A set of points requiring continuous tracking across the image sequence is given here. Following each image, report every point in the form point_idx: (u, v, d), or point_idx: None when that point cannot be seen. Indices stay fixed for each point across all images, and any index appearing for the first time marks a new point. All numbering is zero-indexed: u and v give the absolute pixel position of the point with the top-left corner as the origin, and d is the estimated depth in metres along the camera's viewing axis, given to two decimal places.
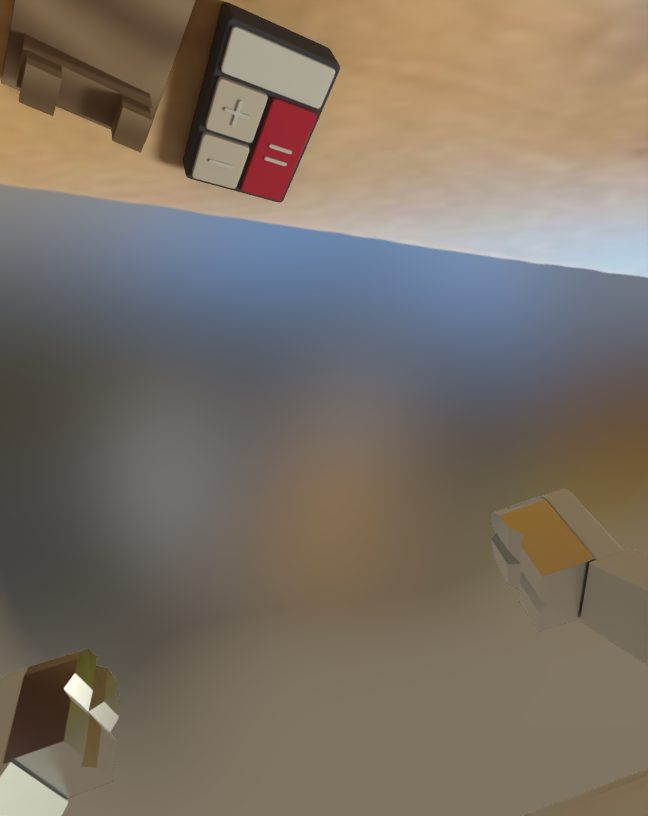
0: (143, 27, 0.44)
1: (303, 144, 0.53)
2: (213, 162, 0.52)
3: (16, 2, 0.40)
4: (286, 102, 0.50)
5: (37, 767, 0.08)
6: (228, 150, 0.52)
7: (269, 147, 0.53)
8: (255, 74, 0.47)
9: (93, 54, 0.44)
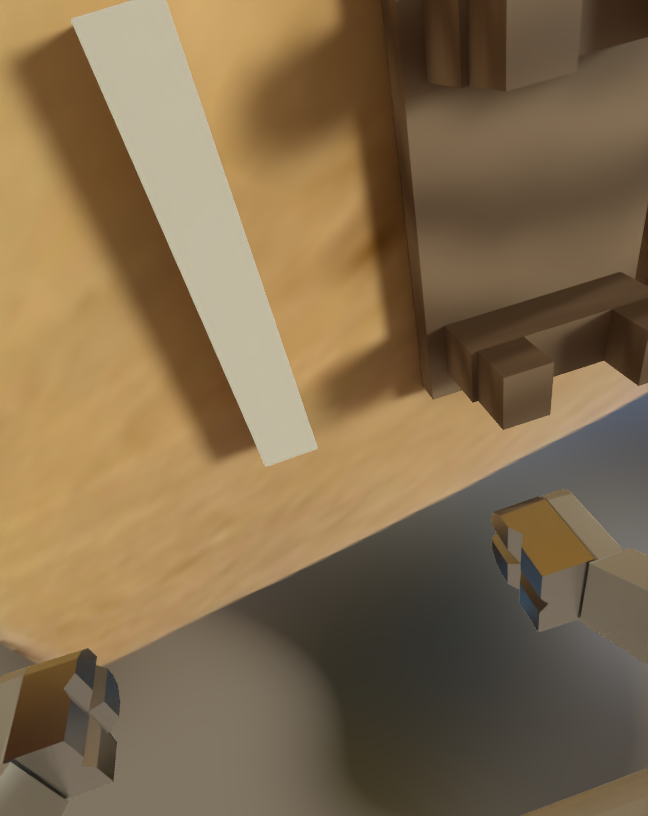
0: (594, 192, 0.25)
1: None
2: None
3: (425, 298, 0.26)
4: None
5: (37, 767, 0.08)
6: None
7: None
8: None
9: (532, 283, 0.27)
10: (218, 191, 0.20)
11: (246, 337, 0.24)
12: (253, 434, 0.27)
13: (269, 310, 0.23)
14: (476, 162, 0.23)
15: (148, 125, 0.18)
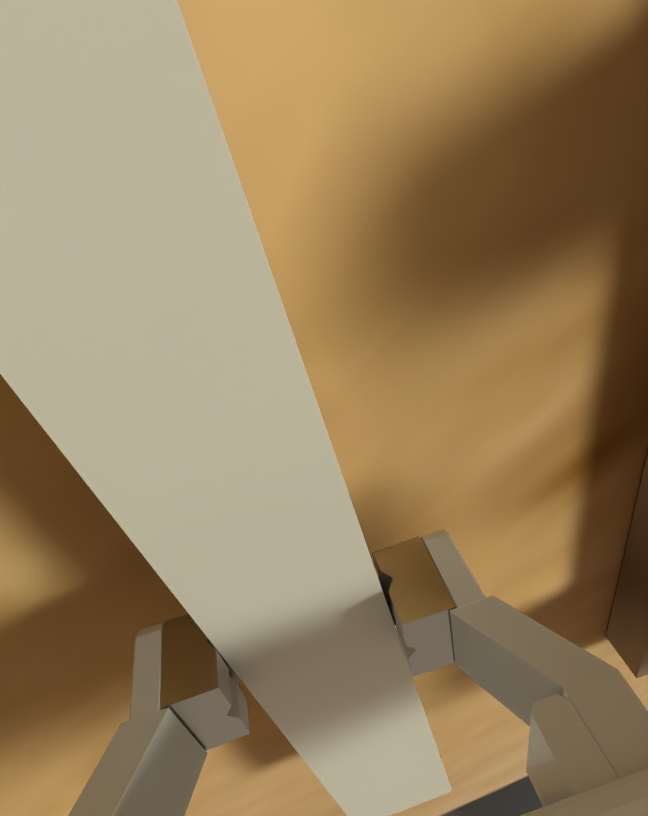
0: None
1: None
2: None
3: None
4: None
5: (188, 715, 0.08)
6: None
7: None
8: None
9: None
10: (306, 473, 0.07)
11: (346, 696, 0.11)
12: (341, 802, 0.14)
13: (400, 652, 0.10)
14: None
15: (96, 344, 0.05)
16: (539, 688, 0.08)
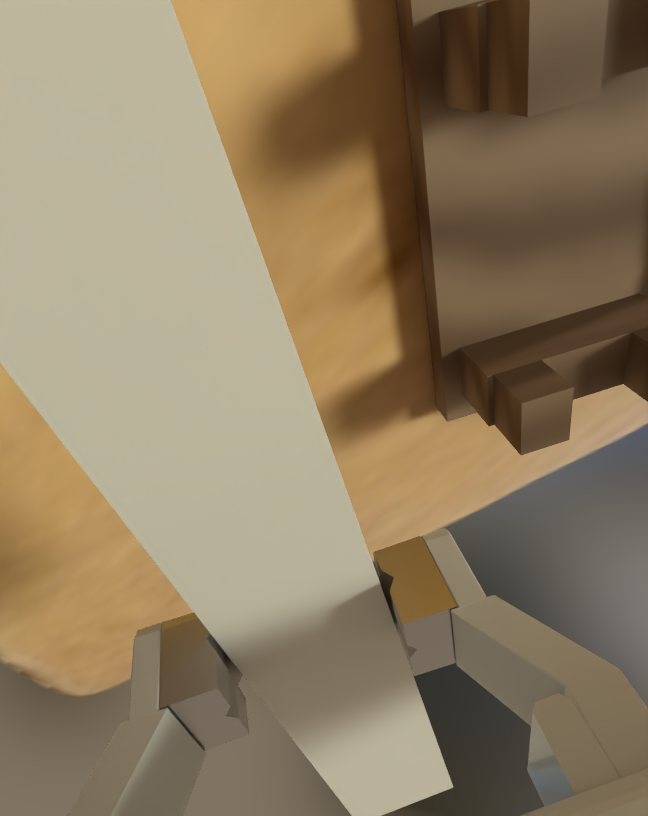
0: (612, 214, 0.25)
1: None
2: None
3: (440, 320, 0.26)
4: None
5: (187, 715, 0.08)
6: None
7: None
8: None
9: (549, 304, 0.27)
10: (303, 466, 0.07)
11: (345, 690, 0.11)
12: (342, 797, 0.14)
13: (398, 645, 0.10)
14: (493, 185, 0.23)
15: (97, 340, 0.06)
16: (540, 688, 0.08)
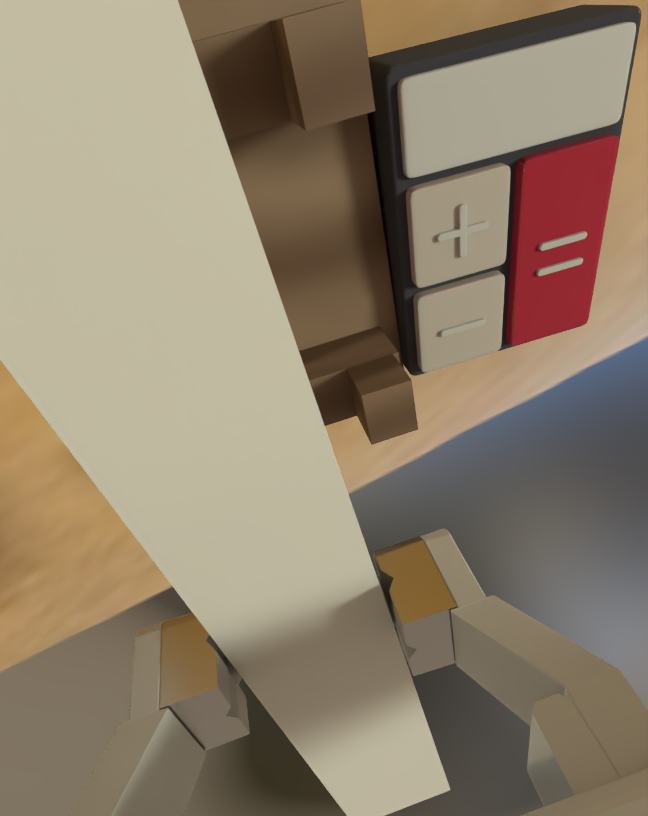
0: (324, 254, 0.25)
1: (605, 206, 0.25)
2: (449, 332, 0.27)
3: None
4: (548, 152, 0.23)
5: (188, 715, 0.08)
6: (468, 299, 0.27)
7: (541, 250, 0.26)
8: (472, 141, 0.22)
9: None
10: (304, 468, 0.07)
11: (344, 692, 0.11)
12: (339, 800, 0.14)
13: (397, 647, 0.10)
14: None
15: (102, 340, 0.06)
16: (539, 688, 0.08)
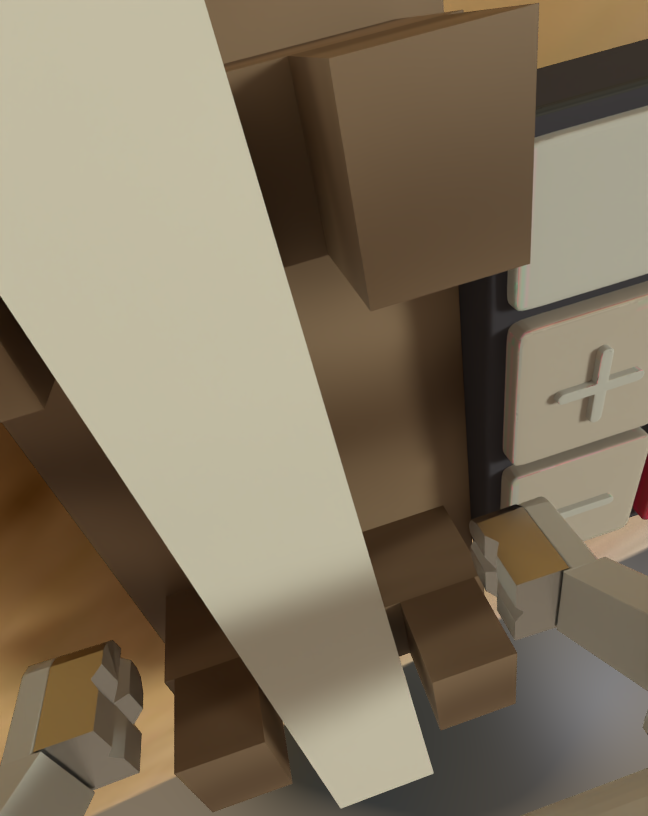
0: (366, 420, 0.15)
1: None
2: None
3: (116, 572, 0.17)
4: None
5: (66, 757, 0.08)
6: (590, 472, 0.16)
7: None
8: (636, 245, 0.12)
9: None
10: (303, 444, 0.08)
11: (334, 670, 0.11)
12: (326, 780, 0.14)
13: (386, 626, 0.11)
14: None
15: (118, 313, 0.06)
16: None
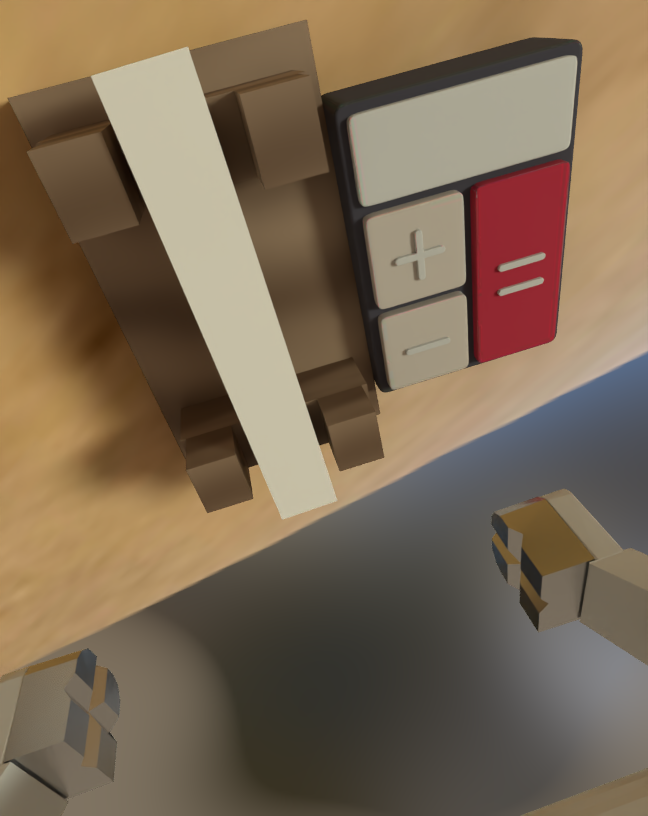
0: (297, 291, 0.27)
1: (561, 228, 0.26)
2: (415, 351, 0.28)
3: (152, 386, 0.28)
4: (500, 179, 0.24)
5: (37, 767, 0.08)
6: (431, 319, 0.27)
7: (500, 271, 0.26)
8: (423, 171, 0.23)
9: None
10: (240, 246, 0.19)
11: (266, 391, 0.23)
12: (270, 487, 0.26)
13: (290, 364, 0.22)
14: (163, 271, 0.25)
15: (169, 181, 0.17)
16: None
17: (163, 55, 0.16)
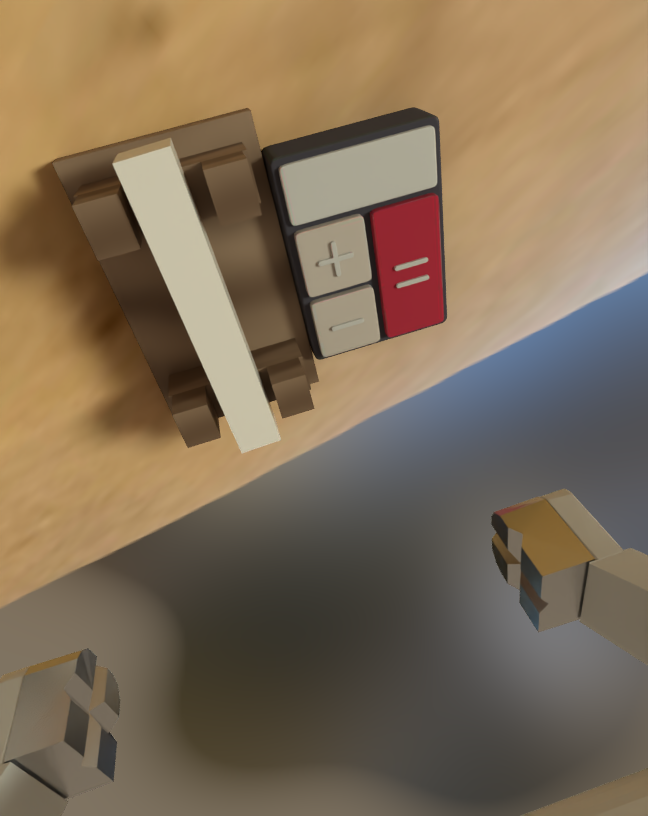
0: (251, 289, 0.38)
1: (438, 240, 0.37)
2: (338, 328, 0.39)
3: (147, 358, 0.39)
4: (389, 206, 0.35)
5: (37, 767, 0.08)
6: (348, 304, 0.38)
7: (396, 270, 0.37)
8: (334, 201, 0.34)
9: None
10: (205, 262, 0.30)
11: (226, 358, 0.33)
12: (232, 428, 0.37)
13: (242, 339, 0.33)
14: (155, 276, 0.35)
15: (159, 223, 0.28)
16: None
17: (155, 151, 0.26)
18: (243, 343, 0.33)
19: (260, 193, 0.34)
